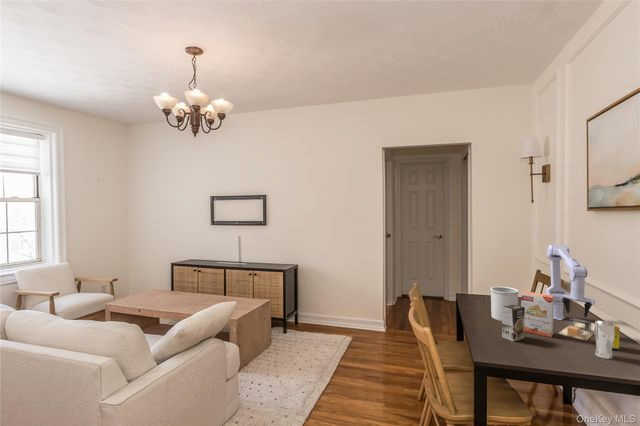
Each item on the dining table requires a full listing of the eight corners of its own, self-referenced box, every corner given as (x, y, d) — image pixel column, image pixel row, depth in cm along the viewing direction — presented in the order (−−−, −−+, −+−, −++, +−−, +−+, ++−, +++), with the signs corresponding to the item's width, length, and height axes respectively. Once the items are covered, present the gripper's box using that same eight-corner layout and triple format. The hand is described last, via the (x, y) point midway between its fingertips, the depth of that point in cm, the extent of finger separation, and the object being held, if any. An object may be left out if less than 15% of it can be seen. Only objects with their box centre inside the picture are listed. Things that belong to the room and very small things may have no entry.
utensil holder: (491, 320, 197) (491, 290, 197) (488, 312, 211) (489, 285, 211) (520, 323, 192) (520, 293, 191) (515, 315, 206) (516, 287, 205)
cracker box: (520, 331, 180) (521, 292, 180) (522, 328, 185) (523, 290, 184) (551, 338, 171) (552, 297, 171) (553, 334, 176) (554, 295, 175)
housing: (568, 327, 185) (568, 319, 185) (570, 326, 188) (571, 317, 188) (589, 332, 178) (589, 323, 178) (591, 330, 181) (591, 321, 181)
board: (558, 333, 177) (558, 333, 177) (576, 320, 199) (576, 319, 199) (586, 340, 168) (586, 340, 168) (602, 325, 189) (602, 325, 189)
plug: (573, 329, 183) (573, 323, 183) (582, 331, 180) (582, 325, 180) (567, 334, 176) (567, 327, 176) (576, 336, 173) (576, 330, 173)
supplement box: (619, 350, 157) (620, 327, 157) (604, 349, 159) (605, 326, 158) (611, 345, 163) (611, 322, 163) (597, 344, 164) (597, 321, 164)
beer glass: (589, 352, 154) (590, 320, 154) (603, 352, 155) (604, 320, 155) (603, 359, 148) (604, 326, 147) (618, 359, 148) (619, 325, 148)
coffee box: (513, 342, 166) (514, 309, 166) (501, 337, 172) (502, 306, 172) (524, 338, 171) (525, 307, 170) (512, 334, 176) (513, 303, 176)
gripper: (558, 287, 181) (558, 312, 182) (592, 293, 170) (591, 319, 170) (563, 285, 186) (562, 309, 186) (596, 291, 174) (595, 317, 175)
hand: (576, 314), depth 179 cm, fingers open, 7 cm apart
